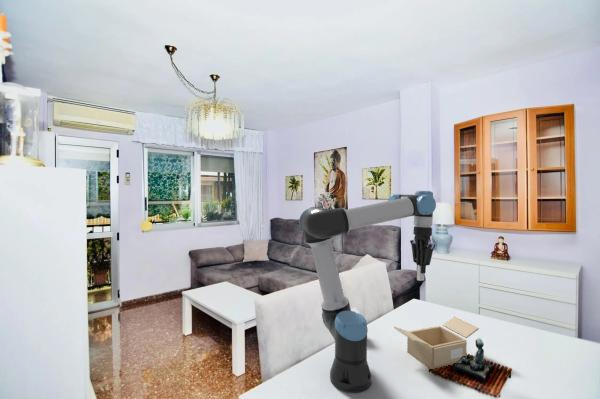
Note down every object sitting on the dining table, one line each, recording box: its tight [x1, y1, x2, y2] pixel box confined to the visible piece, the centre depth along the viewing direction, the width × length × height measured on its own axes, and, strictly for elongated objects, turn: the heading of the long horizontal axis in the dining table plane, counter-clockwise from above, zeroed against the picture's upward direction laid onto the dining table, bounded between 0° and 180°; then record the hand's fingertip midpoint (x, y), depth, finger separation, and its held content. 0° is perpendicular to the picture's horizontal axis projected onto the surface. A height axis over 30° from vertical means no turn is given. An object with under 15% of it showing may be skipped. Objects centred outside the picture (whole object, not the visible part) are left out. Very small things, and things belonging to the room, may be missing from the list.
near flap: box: [393, 326, 428, 346], centre depth 122 cm, size 1×12×8 cm
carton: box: [406, 325, 468, 370], centre depth 127 cm, size 18×16×9 cm
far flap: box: [442, 316, 480, 339], centre depth 131 cm, size 1×12×8 cm
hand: (420, 280), depth 131 cm, fingers closed
